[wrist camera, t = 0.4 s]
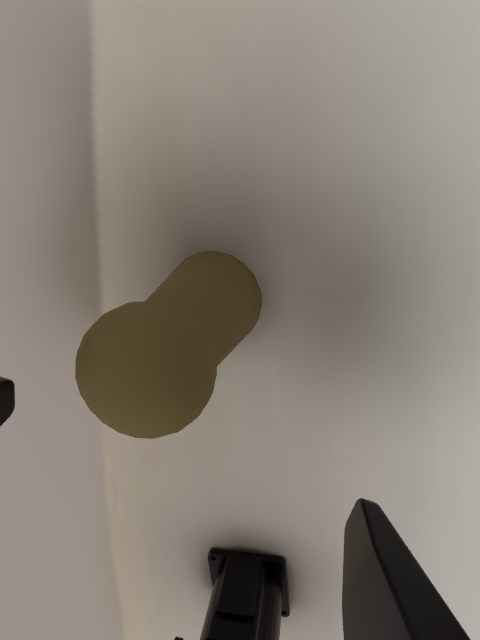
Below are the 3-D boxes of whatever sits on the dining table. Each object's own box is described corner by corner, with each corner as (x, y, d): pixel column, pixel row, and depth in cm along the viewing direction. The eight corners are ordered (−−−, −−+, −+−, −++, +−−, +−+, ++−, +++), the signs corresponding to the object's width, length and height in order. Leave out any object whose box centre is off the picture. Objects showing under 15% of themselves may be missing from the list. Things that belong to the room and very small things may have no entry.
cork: (150, 283, 22) (12, 359, 12) (226, 231, 20) (135, 271, 10) (203, 359, 23) (117, 486, 13) (280, 317, 21) (248, 430, 11)
